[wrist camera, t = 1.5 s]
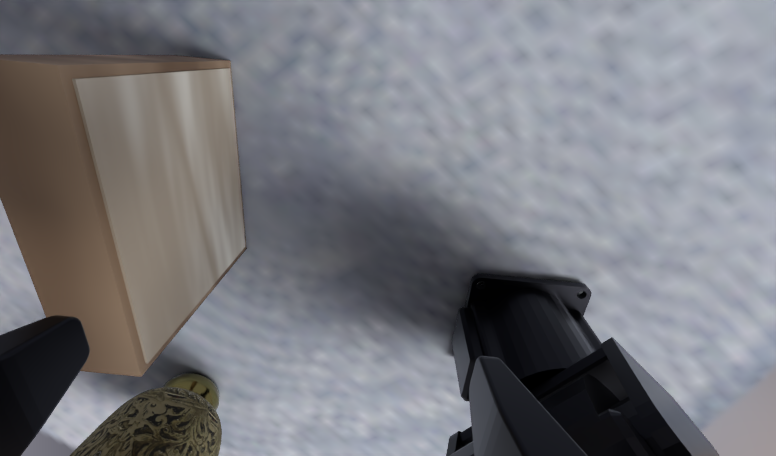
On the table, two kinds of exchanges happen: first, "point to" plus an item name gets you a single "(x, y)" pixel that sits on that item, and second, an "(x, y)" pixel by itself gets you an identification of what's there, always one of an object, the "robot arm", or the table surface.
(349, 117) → the table surface
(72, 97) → the wooden block
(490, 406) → the robot arm
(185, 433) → the cup
